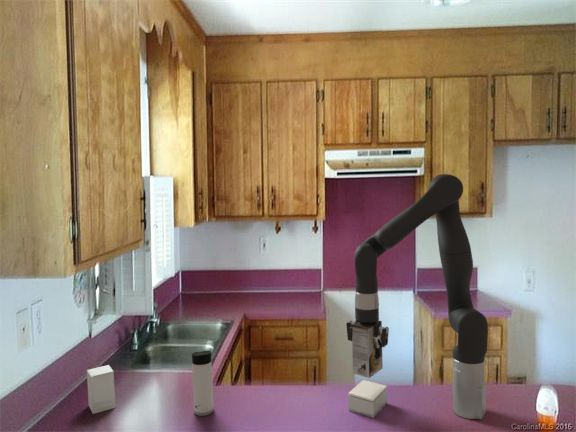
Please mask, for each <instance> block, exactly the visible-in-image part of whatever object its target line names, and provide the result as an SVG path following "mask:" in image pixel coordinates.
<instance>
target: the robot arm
mask: <svg viewBox="0 0 576 432" xmlns="http://www.w3.org/2000/svg"><path fill="white" fill-rule="evenodd" d="M463 193H464V185H463V182H462V181H461V180H460V178H459V177H457V176H456V175H452V174H448V173H441V174H438V175H436V176H435V177H433V178H432V179H431V181H430V182H429V185H428V189H427V191H426V192H424V194H423V195H422V196H421V197H420V198H419V199H418V200H416V201H415V202H414V203H413V204H411V206H409V207H407V208H405V209H404V210H403V211H401V212H400V213H399V214H397V215H395V216H394V217H392V218H391V219H390V220H389V221H387V222H386V223H385V224H384V225H383V226H382V227H380V228H379V229H378V230H377V231H376V232H375V233H374V234H372V235H371V236H370V237H368V238H367V239H365V240H364V241H362V242H361V243H360V244H359V245H358V246H357V247H356V249H355V251H354V254H353V255H354V257H353V258H354V260H353V261H354V270H355V283H354V285H355V295H354V317H355V318H354V319H355V321H352V320H349V321H347V322H346V325H345V326H346V334H347V335H346V336H347V340H348V341H350V342H352V324H354V323H356V322H361V323H366V324H370V325H374V326H375V334H376V333H377V332H378V331H379V330H380V332H381V334H382V340H380V336H379V335H378V337H376V338H375V337H374V341H375V346H376V348H375V357H376V359H379V358H380V357H381V356H382V357H383V348H385V347H386V346H388V344H389V329H390V328H389V327H388V326H385V327H384V326H382V327H381V326H380V325H379V321H380V309H379V307H380V299H379V289H378V288H379V287H378V285H379V284H378V276H377V271H378V270H377V269H378V268H377V267H378V258H379V257H380V256H381V255H383V254H384V253H385V252H386V251H388V250H391V249H392V248H394V247H395V246H396V245H398V244H399V243H400V242H401V241H403V240H404V239H406V237H407V236H409V235H410V234H412V233H413V231H415V230H416V229H417V228H418V227H420V226H421V225H422V224H423V223H424V222H426V221H427V220H429V219H430V218H432V217H433V216H435V220H436V230H437V231H436V232H437V243H438V251H439V257H440V263H441V269H442V274H443V279H444V285H445V289H446V296H447V311H448V312H447V313H448V316H447V317H448V321H449V325H450V327H451V329H452V330H453V331H454V332H456V333H457V345H455V346H454V347H453V348H452V411H453V413H454V414H456V415H457V416H459V417H461V418H464V419H470V420H480V421H481V420H483V419H484V417H485V416H486V415H485V414H486V412H487V382H486V381H485V356H486V354H487V351H488V343H489V342H488V341H489V323H488V320H487V317H486V316H485V315H484V314H483V313H481V312H480V311H479V310H477V309H475V307H474V304H473V301H472V296H471V290H470V289H471V287H470V285H471V280H472V276H473V270H474V259H473V254H472V248H471V243H470V240H469V237H468V234H467V231H466V229H465V225H464V223H463V220H462V217H461V211H460V202H459V201H460V198H461V197H462V195H463ZM377 340H378V341H377Z"/></svg>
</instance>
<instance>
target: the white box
mask: <svg viewBox="0 0 576 432" xmlns="http://www.w3.org/2000/svg"><path fill="white" fill-rule="evenodd" d="M347 397H348V398H347V399H348V411H349V412H350V413H351V412H352V413H355V414H359V415H361V416H365V417H368V418H371V419H374V418H375V417H376V416H377V415H378V414H379V413H380V411H382V410H383V409H384V407H386V406H387V404H388V389H387V388H386V389H385V390H384V391H383V392H382V393H381V394H380V395H379V396H378V397H377V398H376V399H375V400H374V401H369V400H366V399H362V398H358V397H355V396H351V395H348V396H347Z"/></svg>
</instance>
